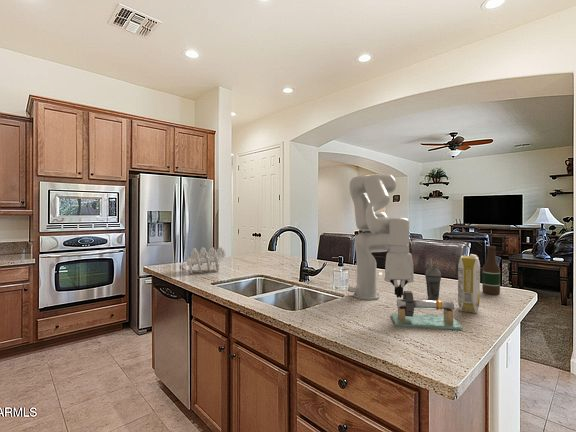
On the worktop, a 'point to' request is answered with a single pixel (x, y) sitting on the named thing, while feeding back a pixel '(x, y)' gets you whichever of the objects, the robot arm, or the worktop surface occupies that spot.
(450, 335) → the worktop surface
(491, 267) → the beer bottle
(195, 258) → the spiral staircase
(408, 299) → the ring
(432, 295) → the beverage cup
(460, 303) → the juice carton
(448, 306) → the teal plate with rod
